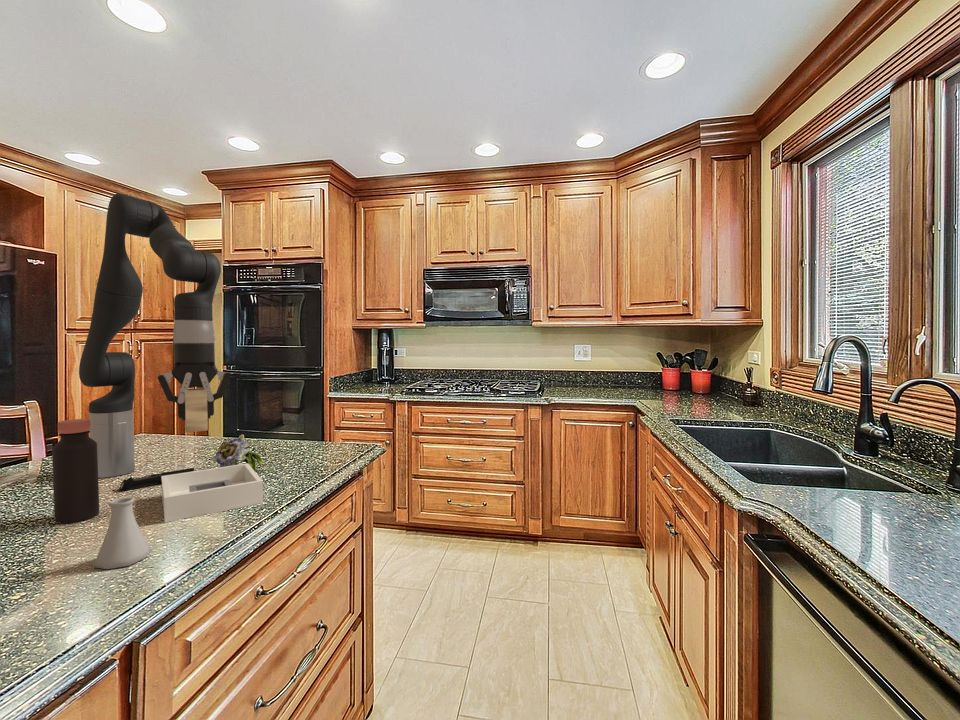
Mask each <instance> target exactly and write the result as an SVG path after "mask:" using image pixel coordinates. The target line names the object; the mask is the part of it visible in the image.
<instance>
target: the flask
mask: <svg viewBox="0 0 960 720" xmlns="http://www.w3.org/2000/svg"><path fill="white" fill-rule="evenodd" d="M135 499H136V498H135V497H130V496H127V497H120V498H119V497H118V498H116V499H113V500H110V501H109V502H108V507H110V520H109V525H108V528H107V531H106V532H105V533H106V534H105V536H104V537H103V538H104V539H103V541H102V544H101V547H100V549H99V552H98V553H97V556H96V558H95V560H94V563H93V568H98V569H103V570H110V569H116V568H122V567H129V566H131V565H133V564H135V563H137V562H140V561H142V560H144V559H146V558H147V557H148V556H149V554H150V553H151V551H152V548H151V545H150V544H149V543H148V541H147V538H146V537H145V536H144V534H143V532H142V531H141V528H140V526H139V525H138V522H137V520H136V517H135V513H134V509H133V508H134V507H133V503H134V501H135Z"/></svg>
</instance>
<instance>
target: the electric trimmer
mask: <svg viewBox="0 0 960 720" xmlns="http://www.w3.org/2000/svg"><path fill="white" fill-rule="evenodd" d="M192 471H195V467H190V468H185V469H177V470H172V471H171V470H170V471H165V472H161V473H154V474H150V475H148V476H141V477H136V478H133V477H132V476H130V477H128V478H127V479H125V478H124V479H123V480H122V481H121V483H120V486H119V489H118V490H119V493H122V492H123V491H124V493H125V491H126V492H127V491H128V490H135V489H138V488H139V489H140V488H144V486H145V487H149V486H153V485H159V484H160V483H162V482H161V476H165V475H172V474H179V473H186V472H192ZM160 485H161V484H160Z"/></svg>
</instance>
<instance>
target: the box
mask: <svg viewBox="0 0 960 720" xmlns="http://www.w3.org/2000/svg"><path fill="white" fill-rule="evenodd" d="M161 482H162V484H161V499H162V500H161V501H162V511H163V518H164V519H163V520H164V523H165V522H166V523H170V522H169V521H171V522H175V521H174V520H176V521H180V520H179V519H181V520H185V519H184V518H186V519H189V518H190V517H191V518H195V517H200V515H201V516H206V515H210V514H214V513H219V512H221V513H222V512H224V511H230V510H236V509H239V508H245V507H250V506H255V505H260V504H263V503H264V480H263V479H262V477H260V476H259V474H258V473H257V471H256V472H255V471H254V470H253V469H252V467H251V466H250V465H249V464H248V463H246V462H245V463H239V464H237V465H233V466H226V467H220V466H219V467H213V468H206V469H201V470H194V471H192V472H186V473H179V474H172V475H165V476H161ZM205 514H206V515H205ZM191 518H190V519H191Z"/></svg>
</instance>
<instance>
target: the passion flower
mask: <svg viewBox="0 0 960 720" xmlns="http://www.w3.org/2000/svg"><path fill="white" fill-rule="evenodd" d="M244 439H245V435H244V434H243V433H242V434H240V435H239V436H238V437H237V438H236V437H235V438H232V439H230V440H227V441H222V443H221V444H220V445H219V446H218V449H217V450H216V453H215V456H213V457H212V458H211V459H210V460H211V462H216V463H217V464H218V465H219V467H226V466H233V465H238V462H245V464H246V463H248V464H249V465H250V466H251V467H252V469H253V470H254V471H255V472H256V473H257V463H258V465H259V468H262V466H263V459H262V458H261V457H260V456H259V455H258V454H257V453H256V452H258V451H260V450H262V451H264V452H263V453H264V455H265V456H266V455H267V454H268V452H267V451H266V449H265V446H264V447H262V448H259V449H256V450H254V451H250V450H251V449H249V447H251V446H252V445H253V444H254V442H253V440H250V441H245V442H244Z"/></svg>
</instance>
